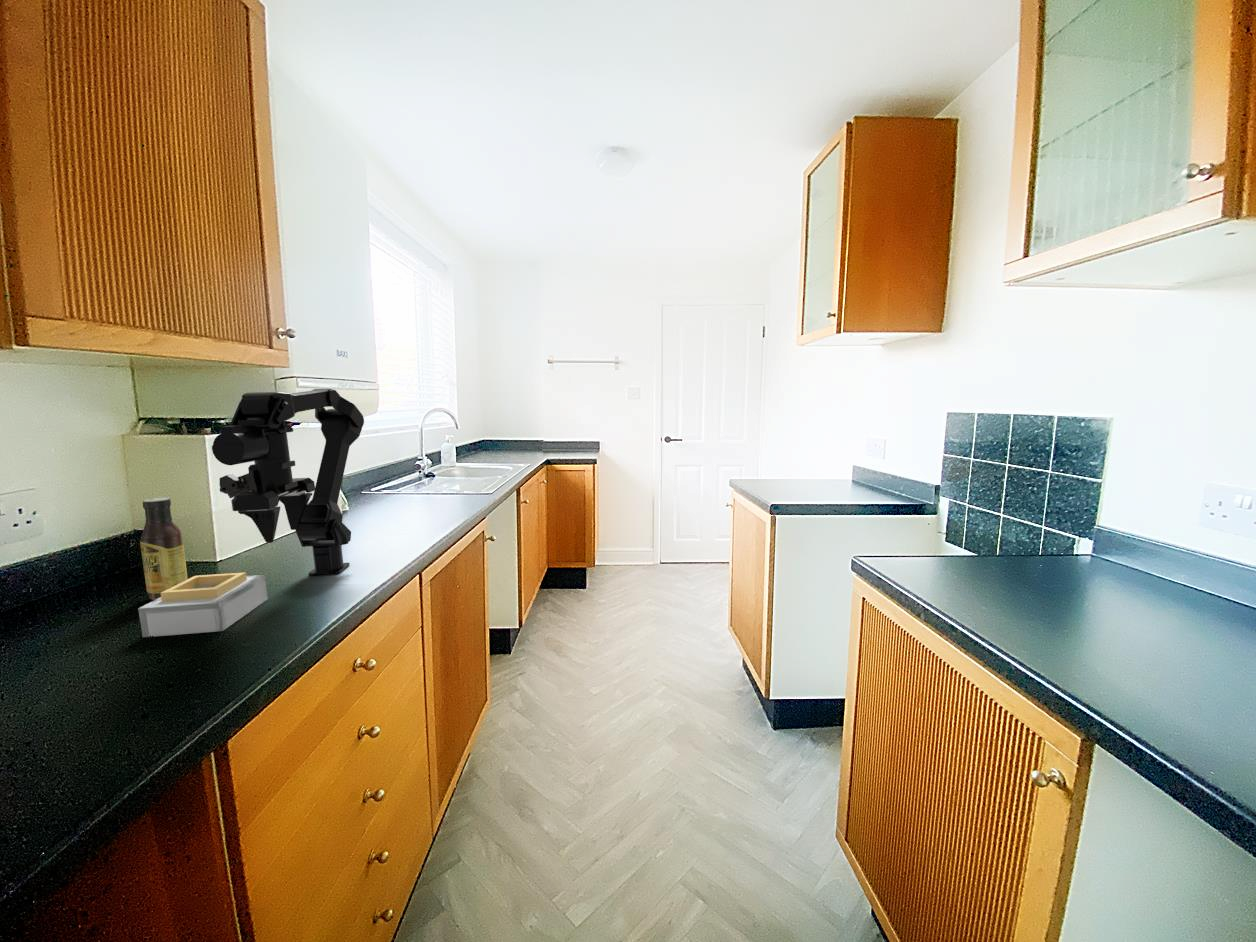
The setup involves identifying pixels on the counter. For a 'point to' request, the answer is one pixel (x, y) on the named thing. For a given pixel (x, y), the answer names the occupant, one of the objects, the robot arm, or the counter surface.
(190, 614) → the square frame box
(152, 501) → the sauce bottle
